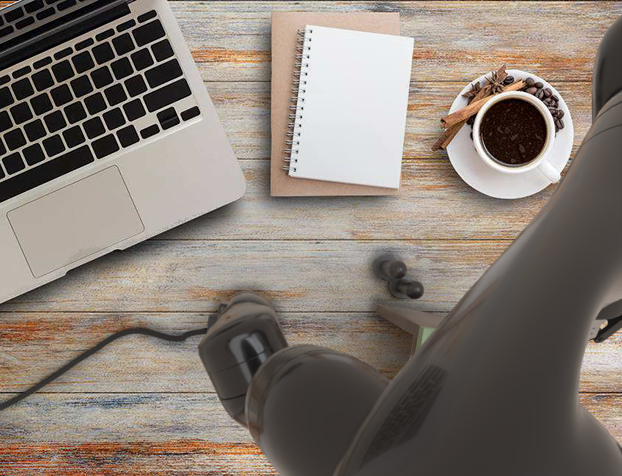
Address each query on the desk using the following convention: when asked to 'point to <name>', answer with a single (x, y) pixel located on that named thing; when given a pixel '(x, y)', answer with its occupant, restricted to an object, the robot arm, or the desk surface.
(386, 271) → the grey pawns
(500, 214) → the desk surface
